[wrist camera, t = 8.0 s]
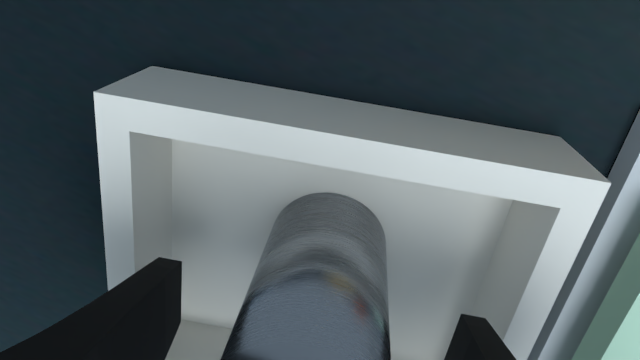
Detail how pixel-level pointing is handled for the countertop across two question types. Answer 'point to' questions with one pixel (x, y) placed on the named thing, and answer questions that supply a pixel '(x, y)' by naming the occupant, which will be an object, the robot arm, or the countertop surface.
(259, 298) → the cell
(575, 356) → the mint green flat block
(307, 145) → the white tray
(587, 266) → the base
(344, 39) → the countertop surface
